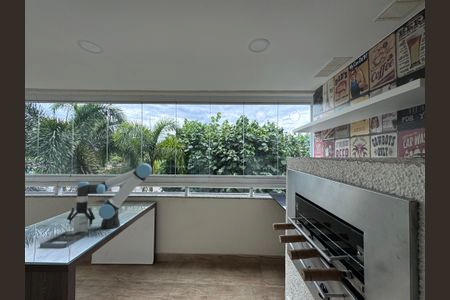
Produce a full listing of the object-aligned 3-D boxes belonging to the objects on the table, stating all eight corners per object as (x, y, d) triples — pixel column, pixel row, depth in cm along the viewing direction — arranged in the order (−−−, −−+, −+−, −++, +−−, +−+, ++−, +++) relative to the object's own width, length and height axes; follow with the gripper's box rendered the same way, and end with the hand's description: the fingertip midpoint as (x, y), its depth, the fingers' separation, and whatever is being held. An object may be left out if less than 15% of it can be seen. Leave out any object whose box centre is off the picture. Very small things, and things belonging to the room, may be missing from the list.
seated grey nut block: (78, 236, 174) (78, 231, 174) (72, 239, 168) (73, 233, 168) (70, 236, 174) (70, 231, 174) (64, 239, 168) (64, 233, 168)
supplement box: (77, 234, 179) (78, 217, 180) (72, 232, 183) (73, 216, 184) (87, 232, 186) (88, 215, 186) (82, 230, 189) (83, 214, 190)
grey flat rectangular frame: (66, 234, 178) (66, 231, 178) (87, 234, 178) (87, 231, 178) (39, 247, 151) (40, 243, 151) (65, 247, 151) (65, 243, 152)
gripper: (100, 201, 190) (99, 227, 189) (68, 200, 189) (67, 227, 188) (95, 202, 183) (94, 230, 181) (62, 202, 181) (61, 229, 180)
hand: (80, 228), depth 185 cm, fingers open, 13 cm apart
